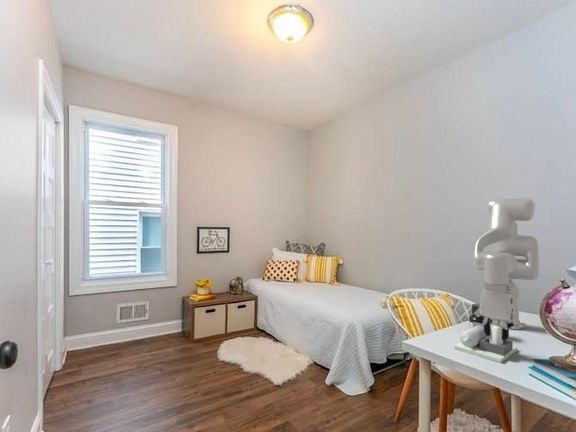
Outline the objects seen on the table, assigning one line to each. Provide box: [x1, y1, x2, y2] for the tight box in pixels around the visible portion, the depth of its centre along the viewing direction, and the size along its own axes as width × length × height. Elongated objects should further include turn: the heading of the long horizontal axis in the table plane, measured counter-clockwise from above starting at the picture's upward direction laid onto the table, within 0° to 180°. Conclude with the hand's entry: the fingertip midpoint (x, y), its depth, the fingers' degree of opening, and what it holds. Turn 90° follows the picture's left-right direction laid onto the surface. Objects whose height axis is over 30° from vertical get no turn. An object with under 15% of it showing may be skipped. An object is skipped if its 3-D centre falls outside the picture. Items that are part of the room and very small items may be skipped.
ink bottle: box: [468, 303, 492, 330], centre depth 136 cm, size 10×9×12 cm
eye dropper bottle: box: [489, 318, 503, 346], centre depth 116 cm, size 4×6×12 cm
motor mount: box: [453, 322, 518, 364], centre depth 118 cm, size 18×15×7 cm
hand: (496, 336), depth 116 cm, fingers closed on eye dropper bottle, 4 cm apart
